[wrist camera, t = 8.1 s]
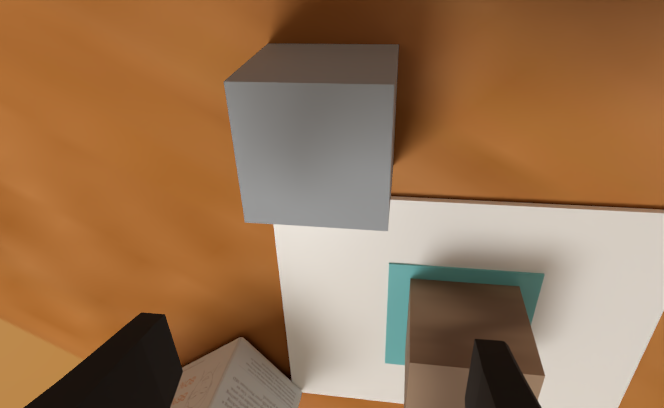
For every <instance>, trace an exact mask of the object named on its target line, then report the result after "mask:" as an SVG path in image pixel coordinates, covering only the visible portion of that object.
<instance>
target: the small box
mask: <svg viewBox="0 0 664 408" xmlns="http://www.w3.org/2000/svg"><path fill="white" fill-rule="evenodd" d="M182 370H183V373H182V376H181V379H180V381H179V384H178V387H177V390H176V393H175V396H174V399H173V401H172V404H171V407H170V408H298V406H299V402H300V399H301V395H302V391H301V389H300V388H299V387H297V386H296V385H295V384H294V383H293V382H292V381H291V380H289V379H288V378H287V377H286V376H285V375H284V374H283V373H282V372H281V371H279V370H278V369H277V368H276V367H275V366H274V365H273V364H272V363H271V362H270V361H269V360H267V359H266V358H265V357H264V356H263V355H262V354H261V353H260V352H259V351H258V350H257V349H255V348H254V347H253V346H252V345H251V344H250V343H249V342H248V341H247V340H245V339H244V338H243V337H239V338H237V339H236V340H234V341H232V342H230V343H228V344H226V345H224V346H222V347H220V348H219V349H217V350H215V351H213V352H211V353H209V354H207V355H205V356H203V357H201V358H200V359H198V360H196V361H194V362H192V363H190V364H188V365H186V366H184V367H182Z"/></svg>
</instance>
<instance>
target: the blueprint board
mask: <svg viewBox="0 0 664 408" xmlns="http://www.w3.org/2000/svg"><path fill="white" fill-rule="evenodd" d="M273 225H274V233H275V242H276V250H277V259H278V267H279V276H280V285H281V293H282V302H283V310H284V319H285V327H286V336H287V344H288V353H289V361H290V370H291V378H292V382H293V383H294V384H295V385H296V386H297V387H299V388H300V389H301V391H302V392H304V393H313V394H321V395H330V396H339V397H348V398H357V399H366V400H375V401H384V402H392V403H401V404H404V383H405V345H406V332H407V318H408V304H409V290H410V278H412V279H426V280H439V281H453V282H467V283H481V284H494V285H508V286H519V287H520V290H521V294H522V297H523V301H524V304H525V308H526V311H527V315H528V318H529V321H530V325H531V328H532V332H533V335H534V339H535V342H536V346H537V349H538V353H539V356H540V360H541V363H542V367H543V370H544V373H545V378H544V382H543V385H542V388H541V391H540V394H539V397H538V402H539V404H540V405H541V407H542V408H618V406H619V404H620V402H621V400H622V398H623V396H624V394H625V392H626V389H627V387H628V385H629V383H630V381H631V379H632V377H633V374H634V372H635V370H636V368H637V366H638V364H639V362H640V360H641V357H642V355H643V353H644V351H645V349H646V347H647V345H648V343H649V340H650V338H651V336H652V334H653V332H654V330H655V328H656V326H657V323H658V321H659V319H660V317H661V315H662V313H663V311H664V210H663V209H642V208H622V207H602V206H581V205H561V204H540V203H520V202H499V201H479V200H458V199H438V198H418V197H397V196H391V199H390V211H389V224H388V231H375V230H359V229H343V228H327V227H311V226H295V225H280V224H273Z"/></svg>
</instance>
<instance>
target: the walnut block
mask: <svg viewBox="0 0 664 408" xmlns="http://www.w3.org/2000/svg"><path fill="white" fill-rule="evenodd" d="M475 339H486V340H499V341H505V342H506V343H507V344H508V346H509V348H510V350H511V352H512V354H513V356H514V358H515V360H516V362H517V364H518V366H519V368H520V370H521V372H522V373H523V375H524V377H525V379H526V381H527V383H528V384H529V386H530V388H531V390H532V391H533V393H534V395H535V397H536V399H537V400H538V397H539V394H540V391H541V388H542V385H543V382H544V378H545V373H544V370H543V367H542V363H541V360H540V356H539V353H538V349H537V346H536V342H535V339H534V335H533V332H532V328H531V325H530V321H529V318H528V315H527V311H526V308H525V304H524V301H523V297H522V294H521V290H520V287H519V286H508V285H494V284H481V283H467V282H453V281H439V280H426V279H412V278H410V290H409V304H408V318H407V332H406V345H405V383H404V408H465V393H466V387H467V381H468V375H469V369H470V363H471V357H472V351H473V346H474V340H475Z"/></svg>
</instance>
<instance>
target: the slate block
mask: <svg viewBox="0 0 664 408" xmlns="http://www.w3.org/2000/svg"><path fill="white" fill-rule="evenodd" d="M398 54H399V44H272V43H268V44H267V45H266V46H264V47H263V48H262V49H261V50H260V51H259V52H257V53H256V54H255V55H254V56H253V57H252V58H251V59H249V60H248V61H247V62H246V63H245V64H244V65H242V66H241V67H240V68H239V69H238V70H237V71H235V72H234V73H233V74H232V75H231V76H230V77H228V78H227V79H226V80H225V81H224V86H225V93H226V99H227V106H228V113H229V119H230V126H231V133H232V139H233V146H234V152H235V159H236V166H237V172H238V179H239V186H240V192H241V199H242V206H243V212H244V219H245V222H248V223H264V224H280V225H295V226H311V227H327V228H343V229H359V230H375V231H388V224H389V211H390V199H391V186H392V174H393V158H394V137H395V117H396V96H397V75H398Z"/></svg>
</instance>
